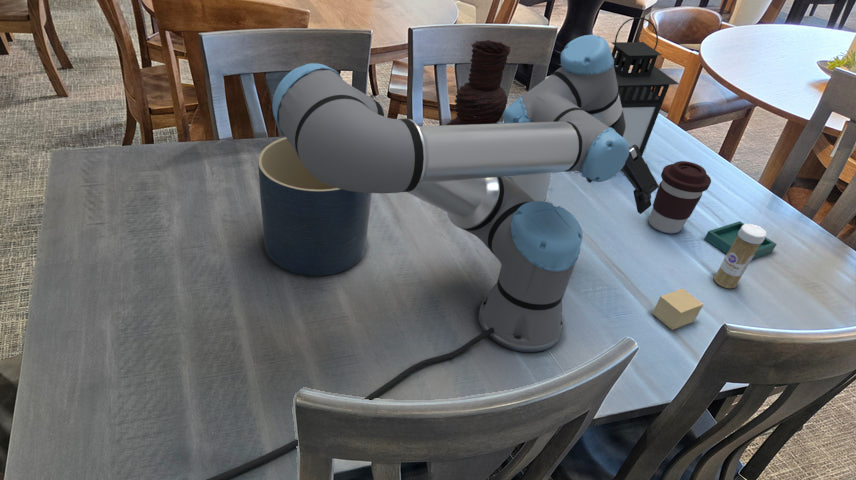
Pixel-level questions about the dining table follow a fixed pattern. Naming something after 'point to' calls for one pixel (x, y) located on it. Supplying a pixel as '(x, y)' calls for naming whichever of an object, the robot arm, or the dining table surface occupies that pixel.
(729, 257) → the sprinkles bottle
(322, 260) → the planter
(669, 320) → the tan block
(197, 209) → the dining table surface
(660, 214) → the coffee cup
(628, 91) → the lantern
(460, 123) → the vase
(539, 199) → the bottle
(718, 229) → the green tray
